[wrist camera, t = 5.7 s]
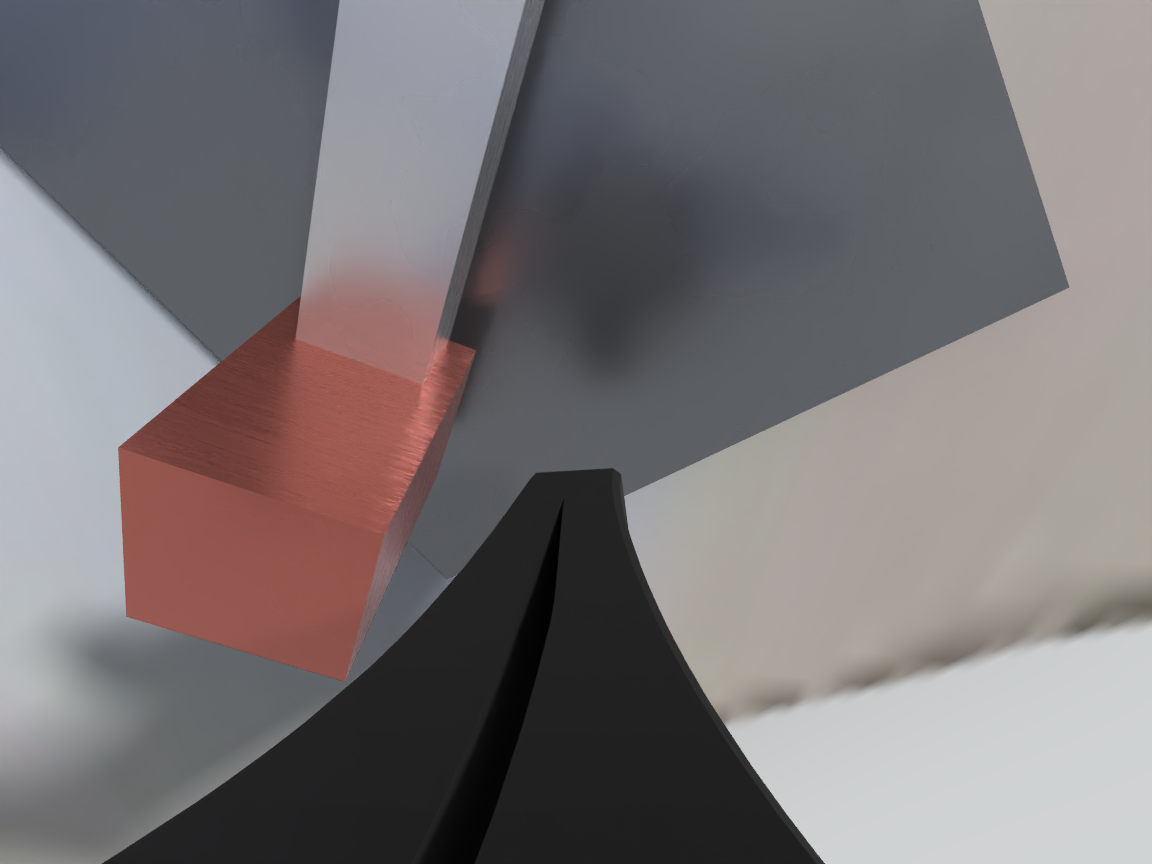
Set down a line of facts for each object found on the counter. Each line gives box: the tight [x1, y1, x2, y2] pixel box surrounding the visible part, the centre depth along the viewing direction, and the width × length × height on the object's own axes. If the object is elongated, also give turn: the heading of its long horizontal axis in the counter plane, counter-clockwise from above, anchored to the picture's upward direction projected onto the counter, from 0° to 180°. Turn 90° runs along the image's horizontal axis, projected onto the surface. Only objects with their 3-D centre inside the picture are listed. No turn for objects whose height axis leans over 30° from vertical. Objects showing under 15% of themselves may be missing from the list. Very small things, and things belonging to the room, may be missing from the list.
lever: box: [118, 0, 545, 682], centre depth 8 cm, size 12×3×5 cm, turn 160°
